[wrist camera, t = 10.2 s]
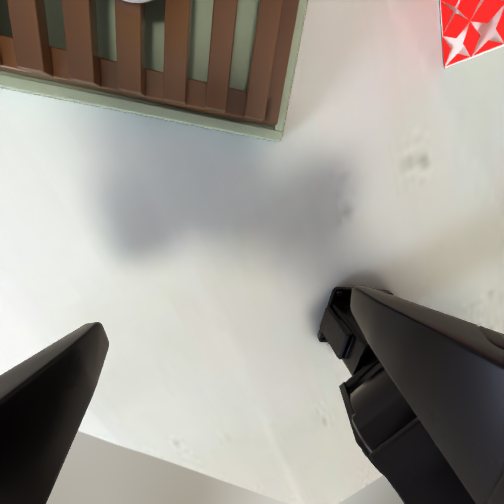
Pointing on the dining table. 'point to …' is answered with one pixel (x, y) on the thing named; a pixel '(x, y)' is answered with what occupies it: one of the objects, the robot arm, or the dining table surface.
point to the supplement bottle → (137, 1)
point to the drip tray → (155, 61)
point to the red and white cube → (470, 28)
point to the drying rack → (175, 55)
